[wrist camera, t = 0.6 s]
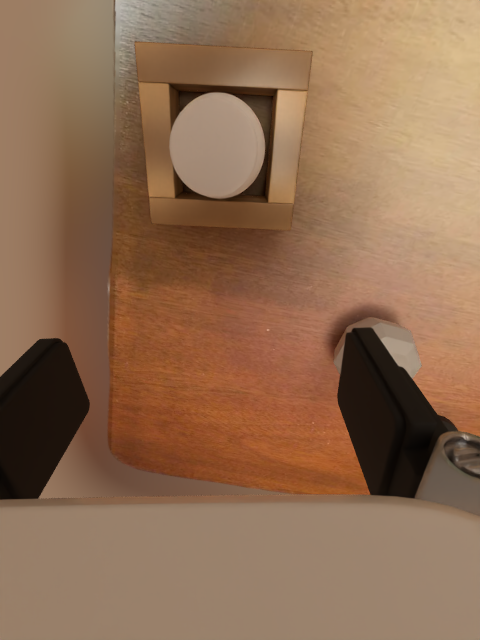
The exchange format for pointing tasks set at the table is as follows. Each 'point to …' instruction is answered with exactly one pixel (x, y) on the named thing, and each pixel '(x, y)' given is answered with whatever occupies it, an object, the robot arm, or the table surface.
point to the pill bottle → (217, 145)
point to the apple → (387, 343)
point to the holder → (234, 78)
